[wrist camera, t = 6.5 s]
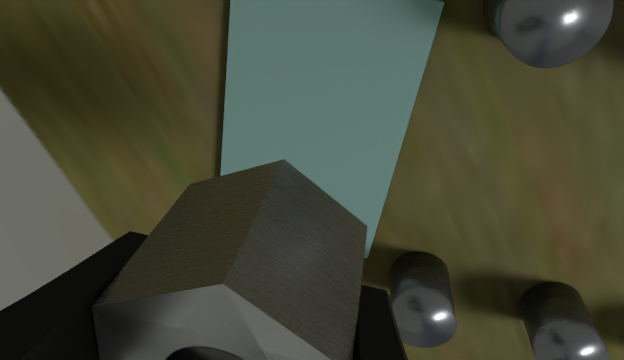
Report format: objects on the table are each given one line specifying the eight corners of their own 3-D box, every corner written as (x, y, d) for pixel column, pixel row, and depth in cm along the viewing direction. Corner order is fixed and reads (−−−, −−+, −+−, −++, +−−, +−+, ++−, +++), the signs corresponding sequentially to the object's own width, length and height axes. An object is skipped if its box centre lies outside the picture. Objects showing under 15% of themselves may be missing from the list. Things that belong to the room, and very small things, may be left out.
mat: (367, 254, 20) (367, 258, 20) (219, 220, 20) (217, 224, 20) (443, 1, 14) (444, 2, 14) (235, -40, 15) (232, -39, 14)
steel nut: (337, 331, 12) (312, 487, 9) (188, 293, 13) (109, 430, 9) (380, 181, 10) (368, 321, 6) (190, 137, 10) (82, 249, 7)
